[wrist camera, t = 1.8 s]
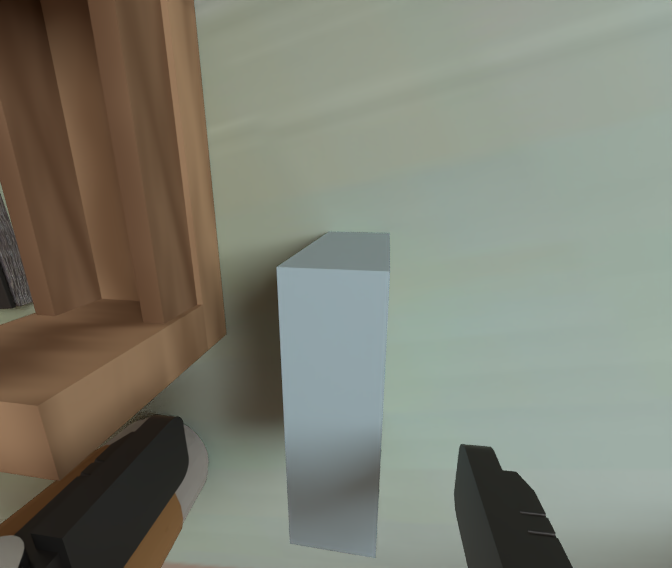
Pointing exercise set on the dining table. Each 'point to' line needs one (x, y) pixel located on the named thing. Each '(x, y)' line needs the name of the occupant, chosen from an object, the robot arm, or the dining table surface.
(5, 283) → the picture frame
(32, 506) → the coffee cup
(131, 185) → the track
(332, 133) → the dining table surface
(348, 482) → the door panel
